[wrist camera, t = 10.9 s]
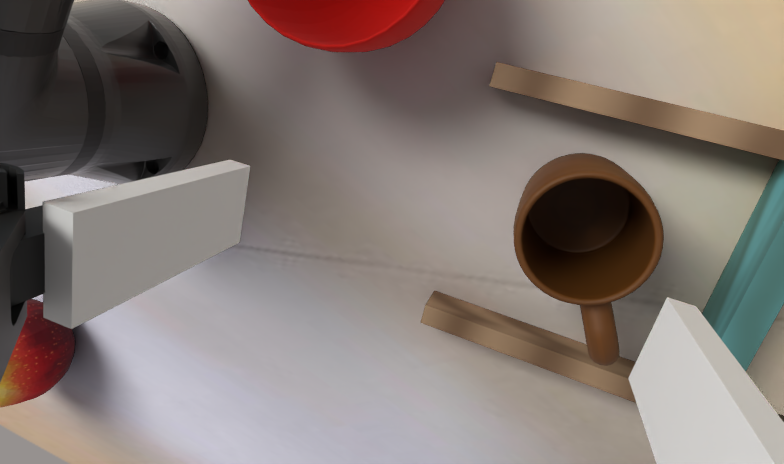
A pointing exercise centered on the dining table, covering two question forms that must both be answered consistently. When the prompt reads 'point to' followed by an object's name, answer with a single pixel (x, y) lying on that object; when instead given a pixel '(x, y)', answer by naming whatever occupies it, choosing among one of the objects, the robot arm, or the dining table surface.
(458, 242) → the dining table surface
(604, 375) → the u-shaped wooden frame
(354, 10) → the red bowl
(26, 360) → the fruit
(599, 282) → the mug
